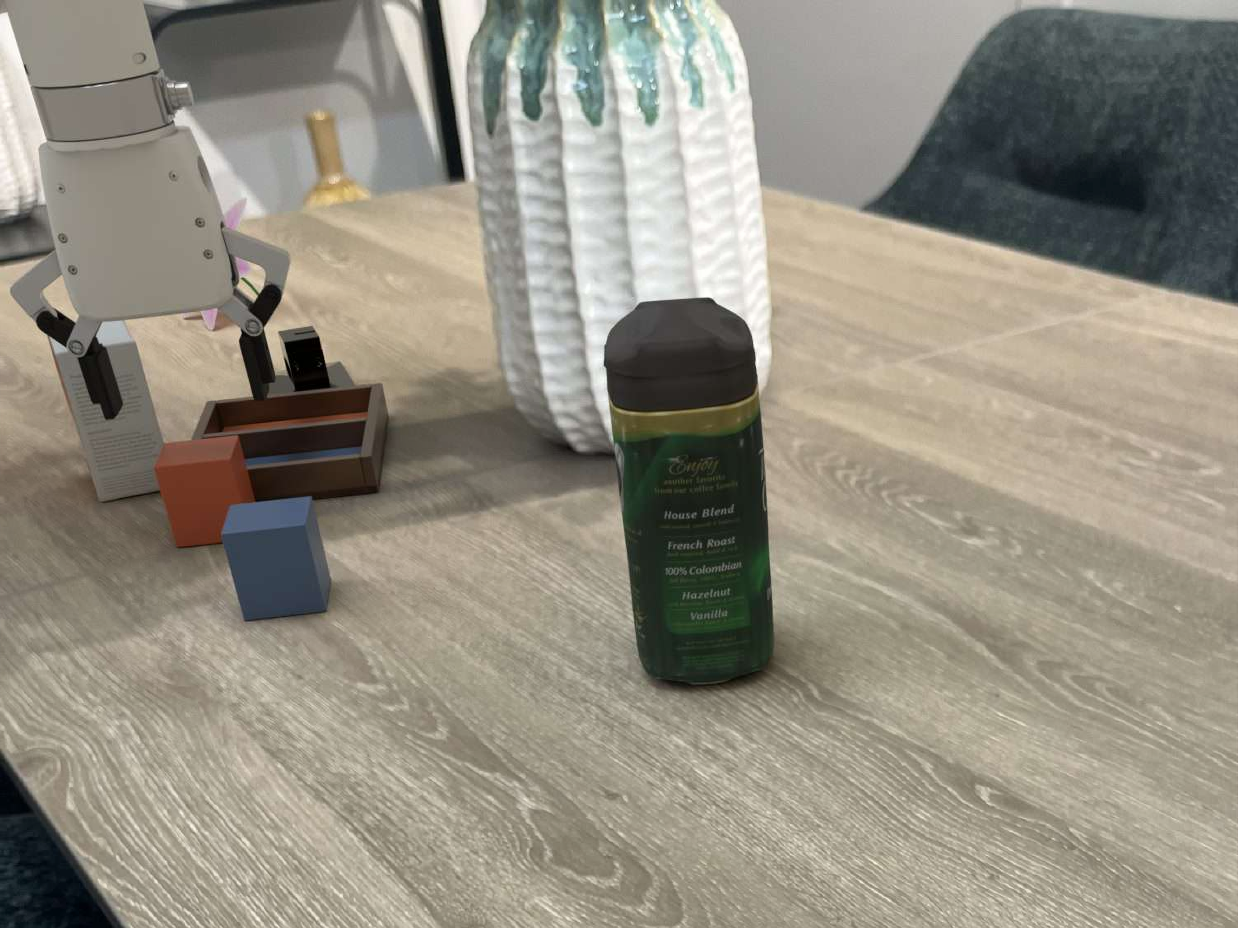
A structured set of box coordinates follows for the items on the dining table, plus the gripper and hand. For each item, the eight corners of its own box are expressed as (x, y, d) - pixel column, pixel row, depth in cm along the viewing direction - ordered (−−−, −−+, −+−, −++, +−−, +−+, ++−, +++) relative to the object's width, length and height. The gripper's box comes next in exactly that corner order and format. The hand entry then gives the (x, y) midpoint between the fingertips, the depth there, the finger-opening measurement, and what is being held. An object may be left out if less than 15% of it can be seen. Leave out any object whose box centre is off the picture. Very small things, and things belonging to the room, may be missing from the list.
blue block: (244, 621, 105) (220, 534, 102) (252, 589, 109) (230, 504, 106) (326, 611, 106) (305, 524, 102) (331, 580, 110) (311, 495, 106)
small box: (88, 471, 130) (43, 325, 123) (163, 457, 131) (122, 312, 125) (99, 503, 124) (51, 352, 118) (177, 488, 126) (135, 338, 119)
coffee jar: (783, 683, 94) (759, 329, 83) (640, 696, 94) (595, 343, 82) (771, 612, 102) (747, 279, 90) (638, 624, 101) (597, 292, 90)
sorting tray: (185, 513, 121) (175, 477, 120) (215, 434, 135) (206, 400, 134) (378, 492, 122) (371, 455, 121) (388, 416, 136) (382, 382, 135)
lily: (192, 311, 170) (128, 232, 162) (291, 248, 169) (233, 165, 161) (216, 379, 164) (151, 300, 156) (320, 314, 163) (260, 231, 154)
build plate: (366, 405, 139) (354, 345, 136) (276, 421, 137) (261, 361, 134) (340, 364, 148) (328, 308, 145) (255, 378, 147) (241, 321, 144)
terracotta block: (176, 548, 116) (153, 467, 113) (186, 521, 120) (164, 442, 117) (251, 539, 116) (230, 458, 113) (258, 513, 120) (238, 434, 117)
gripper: (257, 86, 106) (325, 372, 116) (-27, 118, 105) (66, 403, 115) (244, 106, 100) (316, 405, 110) (-58, 139, 99) (44, 438, 109)
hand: (188, 404), depth 113 cm, fingers open, 9 cm apart
